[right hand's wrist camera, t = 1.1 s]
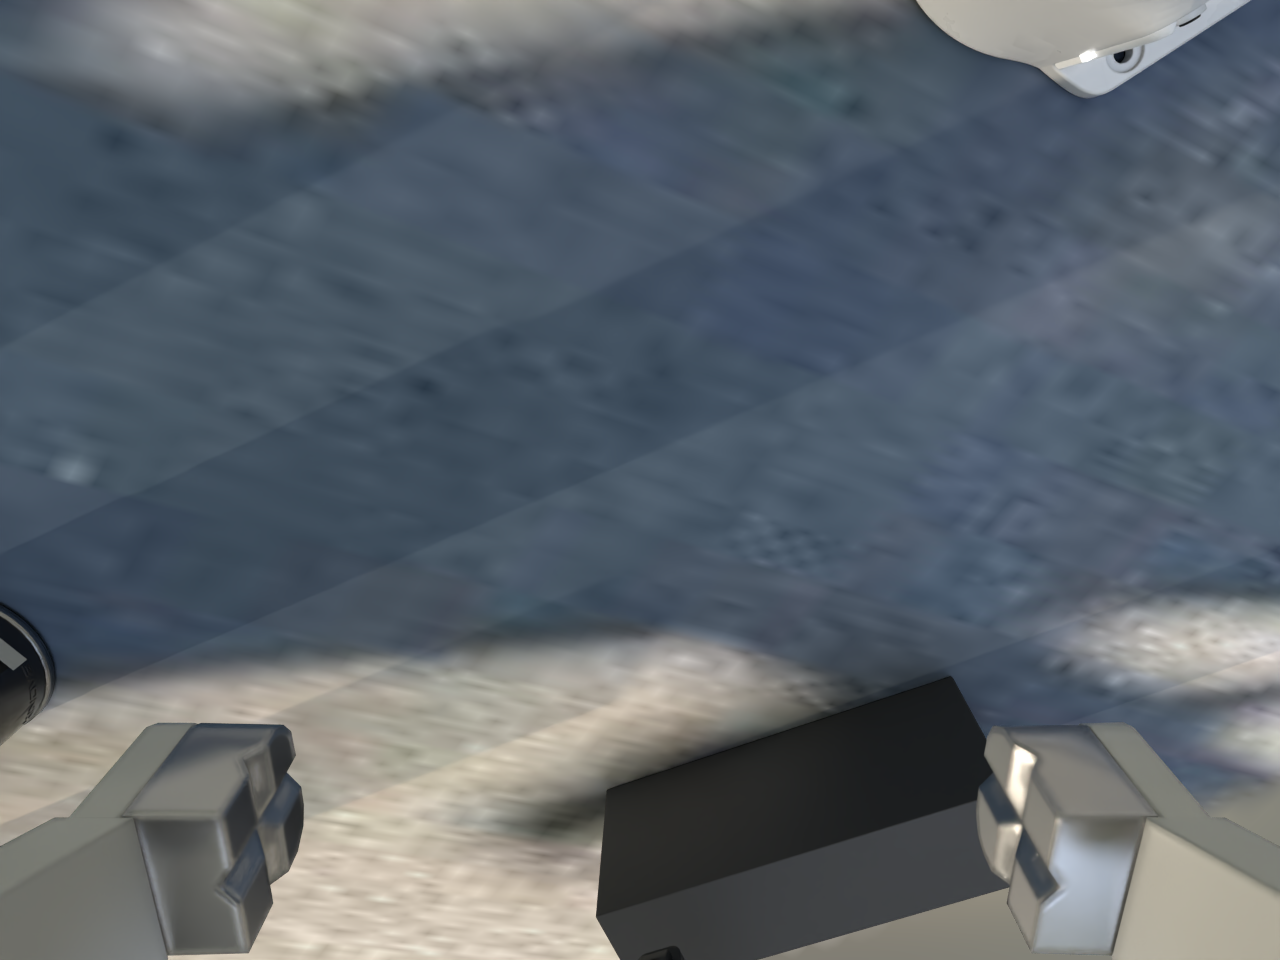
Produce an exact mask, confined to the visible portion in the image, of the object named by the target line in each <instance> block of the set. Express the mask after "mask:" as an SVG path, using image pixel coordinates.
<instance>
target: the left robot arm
mask: <svg viewBox="0 0 1280 960" xmlns="http://www.w3.org/2000/svg"><path fill="white" fill-rule="evenodd" d="M54 683H55V673H54V667H53V663H52V659H51V657H50V654H49V652H48V650H47V648H46V646H45V644H44V643H43V641H42V640H41V638H40V637H39V636H38V634H37V633H36V632H35V631H34V630H33V629H32V627H31V626H29V625H28V624H27V623H26V622H25V621H24V620H23V619H22V618H20V617H19V616H18V615H16V614H15V613H13V612H12V611H10V610H9V609H7V608H5V607H3V606H1V605H0V746H1V745H2V744H3V743H4V742H5V741H6V740H7V739H9V738H10V737H11V736H12V735H13V734H14V733H15V732H16V731H17V730H19V729H20V728H21V727H22V726H23V725H25V724H26V723H28V722H29V721H31V720H32V719H33V718H34V717H35V716H36V715H37V714H38V713H40V712H41V711H42V710H43V709H44V707H45V706H46V705H47V703H48V702H49V700H50V698H51V696H52V693H53V689H54ZM638 960H685V959H684V957H683V955H682V953H681V951H680V949H679V948H678V947H677V946H669V947H665V948H662V949H659V950H655V951H652V952H648V953H645V954H643V955H642V956H641V957H640V958H639V959H638Z"/></svg>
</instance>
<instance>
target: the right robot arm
mask: <svg viewBox="0 0 1280 960" xmlns="http://www.w3.org/2000/svg"><path fill="white" fill-rule="evenodd" d="M916 1H917V3H918V4H919V5H920V7H921V8H922V9H923V11H924V12H925V13H926V14H927V15H928V17H929V18H930V19H931V20H932V21H933V22H934V23H935V24H936V25H937V26H938V27H940V28H941V29H942V30H943V31H944V32H946V33H947V34H948V35H950V36H951V37H952V38H954V39H955V40H957V41H959V42H960V43H962V44H964V45H966V46H968V47H970V48H972V49H974V50H976V51H979V52H982V53H984V54H987V55H991V56H994V57H999V58H1004V59H1008V60H1013V61H1018V62H1023V63H1026V64H1029V65H1032V66H1035V67H1037V68H1039V69H1040V70H1042V71H1043V72H1044V73H1045V74H1046V75H1047V76H1049V77H1050V78H1051V79H1052V80H1054V81H1055V82H1056V83H1057V84H1058V85H1060V86H1061V87H1063V88H1064V89H1065V90H1067V91H1068V92H1070V93H1072V94H1074V95H1076V96H1078V97H1082V98H1094V97H1097V96H1100V95H1103V94H1105V93H1108V92H1110V91H1112V90H1113V89H1115V88H1117V87H1118V86H1120V85H1121V84H1123V83H1124V82H1126V81H1127V80H1129V79H1130V78H1132V77H1134V76H1135V75H1137V74H1138V73H1140V72H1141V71H1143V70H1144V69H1146V68H1147V67H1149V66H1151V65H1152V64H1154V63H1155V62H1157V61H1158V60H1160V59H1161V58H1163V57H1164V56H1166V55H1168V54H1169V53H1171V52H1172V51H1174V50H1175V49H1177V48H1178V47H1180V46H1181V45H1183V44H1184V43H1186V42H1188V41H1189V40H1191V39H1192V38H1194V37H1195V36H1197V35H1198V34H1200V33H1201V32H1203V31H1205V30H1206V29H1208V28H1209V27H1211V26H1212V25H1214V24H1215V23H1217V22H1218V21H1220V20H1221V19H1223V18H1225V17H1226V16H1228V15H1229V14H1231V13H1232V12H1234V11H1235V10H1237V9H1238V8H1240V7H1242V6H1243V5H1245V4H1246V3H1248V2H1249V1H1251V0H916ZM1122 51H1125V57H1124V59H1123V61H1122V62H1121V63H1118V62H1116V61H1115V59H1114V54H1115V53H1118V52H1122ZM295 756H296V753H295V748H294V744H293V739H292V734H291V731H290V730H289V729H288V728H286V727H285V726H284V725H267V724H221V723H200V724H196V723H157V724H154V725H151V726H148V727H146V728H145V729H144V730H143V732H142V733H141V734H140V735H139V736H138V737H137V739H136V740H135V741H134V742H133V743H132V744H131V746H130V747H129V748H128V749H127V750H126V751H125V753H124V754H123V755H122V756H121V757H120V759H119V760H118V761H117V762H116V763H115V764H114V766H113V767H112V768H111V769H110V770H109V771H108V773H107V774H106V775H105V776H104V777H103V778H102V780H101V781H100V782H99V783H98V784H97V785H96V787H95V788H94V789H93V790H92V791H91V792H90V794H89V795H88V796H87V797H86V798H85V799H84V801H83V802H82V803H81V804H80V805H79V806H78V808H77V809H76V810H75V811H74V812H73V813H72V815H71V816H70V817H69V818H53V819H51V820H49V821H48V822H46V823H44V824H42V825H40V826H38V827H36V828H34V829H32V830H30V831H28V832H27V833H25V834H23V835H21V836H19V837H17V838H15V839H13V840H11V841H9V842H8V843H6V844H4V845H2V846H0V960H168V956H167V955H201V954H235V953H249V951H250V949H251V947H252V945H253V943H254V941H255V939H256V937H257V935H258V933H259V931H260V929H261V927H262V925H263V923H264V921H265V919H266V917H267V915H268V913H269V911H270V908H271V906H272V904H273V899H272V893H271V888H270V885H271V884H272V883H273V882H275V881H276V880H277V879H279V878H280V877H281V876H283V875H284V874H286V873H287V872H288V871H289V869H290V867H291V865H292V863H293V860H294V858H295V856H296V854H297V852H298V848H299V843H300V839H301V834H302V829H303V820H304V803H303V796H302V790H301V786H300V785H299V784H298V783H297V782H296V781H295V780H294V779H293V778H292V777H291V776H290V775H289V774H288V773H287V770H288V769H289V767H290V765H291V763H292V761H293V760H294V758H295ZM984 756H985V758H986V760H987V762H988V763H989V765H990V767H991V769H992V771H993V773H992V774H991V775H990V776H989V777H988V778H987V779H986V780H985V781H984V782H983V783H982V784H981V785H980V786H979V789H978V797H977V806H976V819H977V830H978V837H979V841H980V844H981V848H982V851H983V854H984V856H985V859H986V861H987V863H988V865H989V867H990V869H991V871H992V872H993V873H994V874H996V875H997V876H998V877H1000V878H1001V879H1003V880H1004V881H1005V882H1007V883H1008V884H1009V885H1010V887H1009V893H1008V899H1007V905H1008V907H1009V909H1010V911H1011V913H1012V915H1013V917H1014V919H1015V921H1016V923H1017V925H1018V927H1019V929H1020V931H1021V933H1022V935H1023V937H1024V939H1025V941H1026V943H1027V945H1028V947H1029V949H1030V951H1031V953H1043V954H1078V955H1113V956H1112V960H1280V846H1278V845H1276V844H1274V843H1272V842H1270V841H1268V840H1266V839H1265V838H1263V837H1261V836H1259V835H1257V834H1255V833H1253V832H1251V831H1249V830H1248V829H1246V828H1244V827H1242V826H1240V825H1238V824H1236V823H1234V822H1232V821H1230V820H1229V819H1227V818H1211V817H1210V816H1209V815H1208V814H1207V812H1206V811H1205V810H1204V809H1203V808H1202V807H1201V805H1200V804H1199V803H1198V802H1197V801H1196V800H1195V798H1194V797H1193V796H1192V795H1191V794H1190V793H1189V791H1188V790H1187V789H1186V788H1185V787H1184V786H1183V784H1182V783H1181V782H1180V781H1179V780H1178V779H1177V777H1176V776H1175V775H1174V774H1173V773H1172V772H1171V770H1170V769H1169V768H1168V767H1167V766H1166V765H1165V763H1164V762H1163V761H1162V760H1161V759H1160V758H1159V756H1158V755H1157V754H1156V753H1155V752H1154V751H1153V749H1152V748H1151V747H1150V746H1149V745H1148V744H1147V742H1146V741H1145V740H1144V739H1143V738H1142V737H1141V735H1140V734H1139V733H1138V732H1137V731H1136V730H1135V728H1133V727H1131V726H1129V725H1127V724H1125V723H1123V722H1119V723H1086V724H1079V725H1023V726H993V727H992V729H991V731H990V733H989V735H988V737H987V741H986V747H985V753H984Z"/></svg>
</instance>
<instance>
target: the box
mask: <svg viewBox="0 0 1280 960" xmlns="http://www.w3.org/2000/svg"><path fill="white" fill-rule="evenodd" d="M986 741H987V740H986V738H985V736H984V734H983V732H982V731H981V729H980V727H979V725H978V723H977V721H976V720H975V718H974V716H973V714H972V712H971V710H970V709H969V707H968V705H967V703H966V701H965V699H964V697H963V696H962V694H961V692H960V690H959V688H958V686H957V685H956V683H955V681H954V679H953V678H952V677H949V678H946V679H943V680H940V681H937V682H934V683H931V684H928V685H924V686H921V687H918V688H915V689H912V690H909V691H906V692H903V693H900V694H897V695H894V696H891V697H888V698H885V699H882V700H879V701H876V702H873V703H870V704H867V705H864V706H861V707H858V708H855V709H852V710H849V711H846V712H843V713H840V714H836V715H833V716H830V717H827V718H824V719H821V720H818V721H815V722H812V723H809V724H806V725H803V726H800V727H797V728H794V729H791V730H788V731H785V732H782V733H779V734H776V735H773V736H770V737H767V738H764V739H761V740H758V741H755V742H752V743H749V744H745V745H742V746H739V747H736V748H733V749H730V750H727V751H724V752H721V753H718V754H715V755H712V756H709V757H706V758H703V759H700V760H697V761H694V762H691V763H688V764H685V765H682V766H679V767H676V768H673V769H670V770H667V771H664V772H661V773H658V774H654V775H651V776H648V777H645V778H642V779H639V780H636V781H633V782H630V783H627V784H624V785H621V786H618V787H615V788H612V789H609V790H607V795H606V806H605V818H604V830H603V841H602V853H601V864H600V876H599V887H598V899H597V911H596V918H597V920H598V921H599V923H600V925H601V927H602V928H603V930H604V932H605V934H606V935H607V937H608V939H609V941H610V943H611V944H612V946H613V948H614V950H615V951H616V953H617V955H618V957H619V958H620V960H638V959H639V958H640V957H641V956H642V955H643V954H645V953H648V952H652V951H655V950H659V949H662V948H665V947H669V946H677V947H678V948H679V949H680V951H681V953H682V955H683V957H684V959H685V960H759V959H762V958H766V957H769V956H773V955H776V954H780V953H783V952H787V951H790V950H794V949H797V948H800V947H804V946H807V945H811V944H814V943H818V942H821V941H825V940H828V939H832V938H835V937H839V936H842V935H845V934H849V933H852V932H856V931H859V930H863V929H866V928H870V927H873V926H877V925H880V924H884V923H887V922H891V921H894V920H897V919H901V918H904V917H908V916H911V915H915V914H918V913H922V912H925V911H929V910H932V909H936V908H939V907H942V906H946V905H949V904H953V903H956V902H960V901H963V900H967V899H970V898H974V897H977V896H981V895H984V894H987V893H991V892H994V891H998V890H1001V889H1005V888H1008V887H1010V885H1009V884H1008V883H1007V882H1005V881H1004V880H1003V879H1001V878H1000V877H998V876H997V875H996V874H994V873H993V872H992V871H991V869H990V867H989V865H988V863H987V861H986V859H985V856H984V854H983V851H982V848H981V844H980V841H979V837H978V830H977V819H976V806H977V797H978V789H979V786H980V785H981V784H982V783H983V782H984V781H985V780H986V779H987V778H988V777H989V776H990V775H991V774H992V773H993V771H992V769H991V767H990V765H989V763H988V762H987V760H986V758H985V756H984V753H985V747H986Z"/></svg>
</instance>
